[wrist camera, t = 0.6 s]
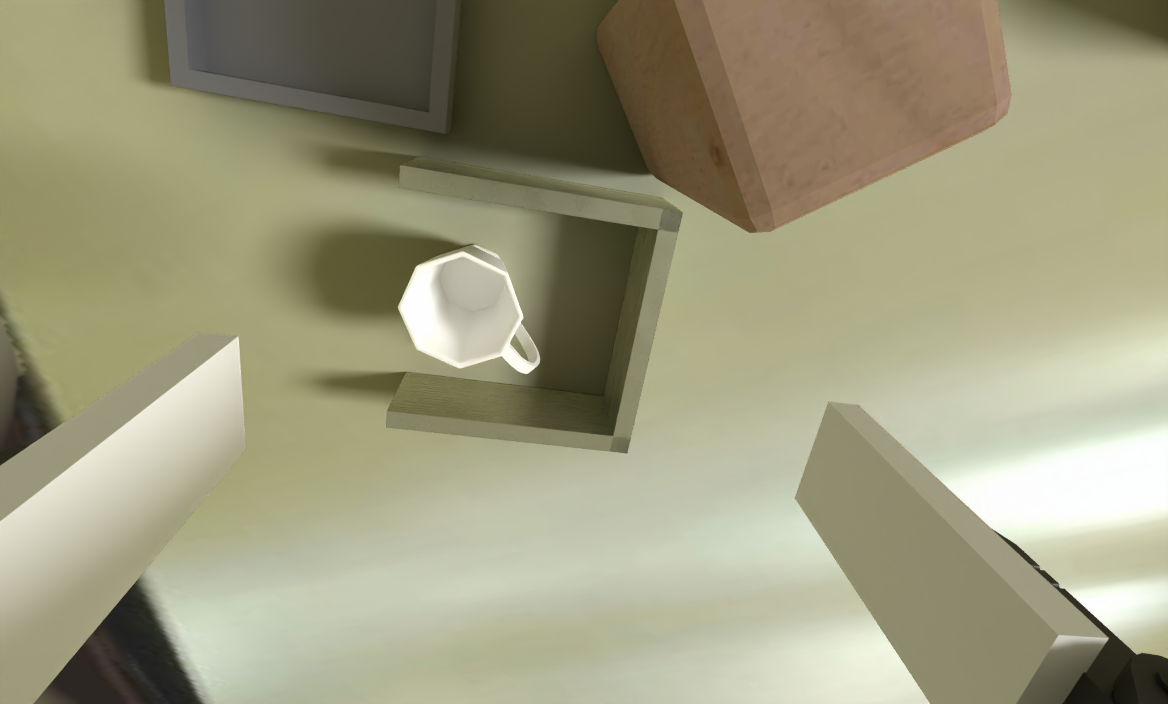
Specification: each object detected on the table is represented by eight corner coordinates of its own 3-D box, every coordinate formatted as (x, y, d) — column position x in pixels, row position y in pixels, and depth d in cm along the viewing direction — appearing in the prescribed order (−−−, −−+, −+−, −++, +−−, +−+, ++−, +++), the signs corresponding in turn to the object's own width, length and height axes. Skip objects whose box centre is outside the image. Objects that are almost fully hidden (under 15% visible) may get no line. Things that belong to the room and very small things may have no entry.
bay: (419, 156, 37) (399, 165, 32) (662, 197, 40) (682, 212, 34) (404, 386, 43) (386, 427, 38) (615, 411, 46) (627, 453, 40)
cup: (477, 202, 39) (463, 224, 31) (573, 311, 42) (581, 355, 35) (400, 269, 40) (370, 305, 33) (499, 370, 44) (492, 424, 36)
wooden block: (651, 182, 39) (754, 249, 21) (588, 28, 35) (645, -58, 17) (791, 113, 38) (1030, 119, 20) (742, -53, 34) (981, -237, 16)
